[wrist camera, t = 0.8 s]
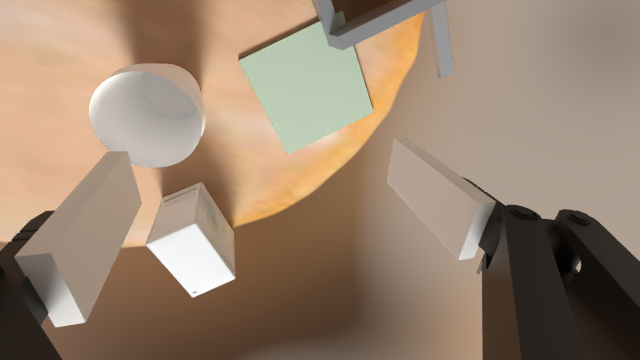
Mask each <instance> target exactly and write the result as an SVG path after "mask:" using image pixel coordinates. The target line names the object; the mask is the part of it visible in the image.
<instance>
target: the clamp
mask: <svg viewBox="0 0 640 360" xmlns="http://www.w3.org/2000/svg"><path fill="white" fill-rule="evenodd" d="M445 1H446V0H392V1H390V2H388V3H386V4H384V5H381V6H379V7H377V8H375V9H373V10H371V11H369V12H367V13H365V14H363V15H361V16H359V17H357V18H355V19H353V20H351V21H348V22H346V24H344V25H342V26H339V23H338V20H337V17H336V14H335V11H334V7H333V4H332V1H331V0H312V2H313V5H314V8H315V10H316V13H317V16H318V19H319V21H321V24H322V27H323V30H324V33H325V36H326V39H327V41H328V44H329V46H331V47H334V48H336V49H339V50H342V51H343V50H345V49H347V48H349V47H351V46H353V45H355V44H357V43H359V42H361V41H363V40H365V39H367V38H369V37H372V36H374V35H376V34H378V33H380V32H382V31H384V30H386V29H388V28H390V27H392V26H394V25H396V24H398V23H400V22H402V21H404V20H406V19H409V18H411V17H413V16H415V15H417V14H419V13H421V12H423V11H425V10H427V13H428V19H429V25H430V31H431V38H432V44H433V50H434V56H435V62H436V68H437V75H438V77H439V78H444V77H446V76H448V75H450V74H452V73H454V68H453V61H452V52H451V44H450V37H449V29H448V21H447V14H446V6H445Z"/></svg>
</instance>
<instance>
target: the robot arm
mask: <svg viewBox="0 0 640 360" xmlns="http://www.w3.org/2000/svg"><path fill="white" fill-rule="evenodd" d="M387 183H388V184H389V185H390V186H391V187H392V188H393V190H394V191H395V192H396V193H397V194H398V195H399V196H400V197H401V198H402V199H403V200H404V201H405V203H406V204H407V205H408V206H409V207H410V208H411V209H412V210H413V211H414V213H415V214H416V215H417V216H418V217H419V218H420V219H421V220H422V221H423V222H424V224H425V225H426V226H427V227H428V228H429V229H430V230H431V231H432V232H433V233H434V234H435V236H436V237H437V238H438V239H439V240H440V241H441V242H442V243H443V244H444V245H445V246H446V248H447V249H448V250H449V251H450V252H451V253H452V254H453V255H454V256H455V257H456V258H457V260H463V259H469V258H474V256H475V253H476V251H477V248H478V246H479V247H481V248H482V249H483V250H484V251H485V254H484V256H483V258H482V261H481V263H480V266H479V268H478V270H477V274H480V271H482V315H483V316H482V331H483V332H482V333H483V360H640V261H638V259H636V258H635V257H634V256H633V255H632V254H631V253H630V252H629V251H628V250H627V249H626V248H625V247H624V246H623V245H622V244H621V243H620V242H619V241H618V240H617V239H616V238H615V237H614V236H613V235H612V234H611V233H610V232H608V231H607V230H606V229H605V228H604V227H603V226H602V225H601V224H600V223H599V222H598V221H597V220H595V219H594V218H592V217H590V216H588V215H587V214H586V213H583V212H582V213H581V212H580V211H574V210H565V209H563V210H560V211H559V213H558V215H557V216H556V218H555V220H551V219H542V218H541V217H540V216H539V215H538V214H537V213H536V212H534V211H532V210H530V209H528V208H525V207H522V206H518V205H507V206H505V205H504V204H502V203H501V202H499V201H498V200H496V199H495V198H494V197H492V196H491V195H490V194H488V193H487V192H484V190H482V189H481V188H480V187H477V185H475V184H474V183H473V182H471V181H470V180H468V179H466V178H463V177H461V176H459V175H458V174H457V173H455V172H454V171H452V170H451V169H449V168H448V167H447V166H445V165H444V164H443V163H441V162H440V161H439V160H437V159H436V158H434V157H433V156H432V155H430V154H429V153H427V152H426V151H425V150H423V149H422V148H420V147H419V146H418V145H416V144H415V143H413V142H412V141H411V140H409V139H408V138H395V139H394V145H393V150H392V156H391V161H390V166H389V172H388V177H387ZM141 204H142V202H141V198H140V194H139V191H138V187H137V184H136V180H135V177H134V173H133V169H132V166H131V162H130V159H129V155H128V152H127V151H112V152H107V153H106V154H105V155H104V156H103V157H102V159H101V160H100V161H99V162H98V163H97V164H96V165H95V166H94V168H93V169H92V170H91V171H90V172H89V173H88V174H87V175H86V177H85V178H84V179H83V180H82V181H81V182H80V183H79V184H78V186H77V187H76V188H75V189H74V190H73V191H72V192H71V193H70V195H69V196H68V197H67V198H66V199H65V200H64V201H63V202H62V204H61V205H60V206H59V207H58V208H57V209H56V210H55V211H45V212H44V213H42V214H40V215H39V216H37V217H35V218H34V219H32V220H30V221H29V222H28V223H27V224H26V225H25V226H24V227H23V228H22V229H21V230H20V233H18V234H17V235H16V236H15V237H14V238H13V239H12V242H9V243H8V244H7V245H6V246H5V247H4V248H3V249H2V250H1V251H0V360H62V358H61V357H60V355H59V354H58V352H57V351H56V349H55V348H54V346H53V345H52V343H51V342H50V340H49V338H48V337H47V335H46V334H45V332H44V331H43V329H42V328H41V324H42V323H43V321H44V319H45V318H46V316H47V315H49V317H50V319H51V321H52V322H53V324H54V326H55V327H60V326H66V325H73V324H78V323H84V322H86V320H87V318H88V316H89V314H90V312H91V310H92V308H93V306H94V303H95V301H96V299H97V297H98V295H99V293H100V291H101V289H102V286H103V284H104V282H105V280H106V278H107V276H108V274H109V271H110V269H111V267H112V265H113V263H114V261H115V259H116V257H117V255H118V252H119V250H120V248H121V246H122V244H123V242H124V240H125V238H126V235H127V233H128V231H129V229H130V227H131V225H132V223H133V221H134V218H135V216H136V214H137V212H138V210H139V208H140V206H141ZM580 260H581V269H580V272H578V271H577V269H576V267H577V265H578V263H579V262H580Z"/></svg>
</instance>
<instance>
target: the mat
mask: <svg viewBox="0 0 640 360" xmlns="http://www.w3.org/2000/svg"><path fill="white" fill-rule="evenodd" d="M335 14H336V17H337V20H338V23H339V26H342V25H344V24H346V20H345V16H344V13H343V10H341V11H339V12H337V13H335ZM238 61H239V63H240V65H241V66H242V68H243V70H244V72H245V74H246V76H247V78H248V80H249V82H250V84H251V86H252V87H253V89H254V91H255V93H256V95H257V97H258V99H259V101H260V103H261V105H262V106H263V108H264V110H265V112H266V114H267V116H268V118H269V120H270V122H271V124H272V125H273V127H274V129H275V131H276V133H277V135H278V137H279V139H280V141H281V143H282V145H283V146H284V148H285V150H286V152H287V154H290V153H292V152H294V151H296V150H298V149H300V148H302V147H304V146H306V145H308V144H310V143H312V142H314V141H316V140H318V139H321V138H323V137H325V136H327V135H329V134H331V133H333V132H335V131H337V130H339V129H341V128H343V127H345V126H347V125H349V124H351V123H353V122H355V121H357V120H359V119H361V118H363V117H365V116H367V115H369V114H371V113H373V109H372V105H371V102H370V99H369V95H368V92H367V89H366V86H365V82H364V79H363V76H362V72H361V69H360V66H359V62H358V59H357V56H356V53H355V49H354V46H351V47H349V48H347V49H345V50H343V51H342V50H339V49H336V48H334V47H331V46H329V44H328V41H327V39H326V36H325V33H324V30H323V27H322V24H321V21H318V22H316V23H314V24H312V25H310V26H308V27H306V28H304V29H302V30H300V31H298V32H295V33H293V34H291V35H289V36H287V37H285V38H283V39H281V40H279V41H277V42H275V43H273V44H271V45H269V46H266V47H264V48H262V49H260V50H258V51H256V52H254V53H252V54H250V55H248V56H246V57H244V58H242V59H240V60H238Z"/></svg>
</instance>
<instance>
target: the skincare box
mask: <svg viewBox="0 0 640 360" xmlns="http://www.w3.org/2000/svg"><path fill="white" fill-rule="evenodd" d="M146 246H147V247H148V248H149V249H150V250H151V251H152V252H153V253H154V254H155V255H156V257H157V258H158V259H159V260H160V261H161V262H162V263H163V264H164V266H166V268H167V269H168V270H169V271H170V272H171V273H172V274H173V276H174V277H175V278H176V279H177V280H178V281H179V282H180V284H181V285H182V286H183V287H184V288H185V289H186V290H187V292H188V293H189V294H190V295H191V296H192V297H195V296H197V295H200V294H202V293H204V292H206V291H209V290H211V289H213V288H216V287H218V286H220V285H222V284H224V283H227V282H229V281H231V280H233V279H235V262H234V232H233V230H232V228H231V227H230V225H229V224H228V222H227V221H226V219H225V217H224V216H223V214H222V213H221V211H220V210H219V208H218V206H217V205H216V203H215V202H214V200H213V199H212V197H211V196H210V194H209V192H208V191H207V189H206V188H205V186H204V184H203V183H202V182H200V183H197V184H194V185H192V186H190V187H188V188H185V189H182V190H180V191H178V192H175V193H173V194H170V195H167V196H165V197H163V198H162V200H161V203H160V206H159V209H158V212H157V215H156V218H155V221H154V223H153V226H152V229H151V231H150V234H149V236H148V239H147V241H146Z"/></svg>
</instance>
